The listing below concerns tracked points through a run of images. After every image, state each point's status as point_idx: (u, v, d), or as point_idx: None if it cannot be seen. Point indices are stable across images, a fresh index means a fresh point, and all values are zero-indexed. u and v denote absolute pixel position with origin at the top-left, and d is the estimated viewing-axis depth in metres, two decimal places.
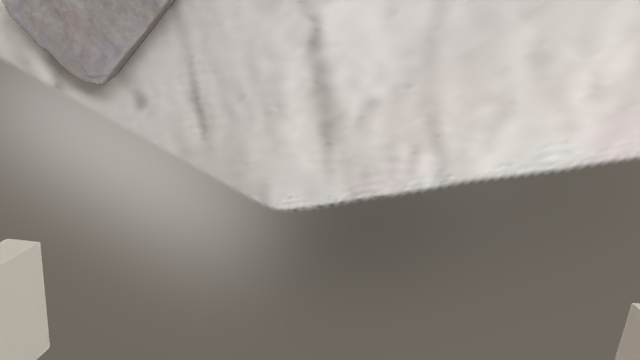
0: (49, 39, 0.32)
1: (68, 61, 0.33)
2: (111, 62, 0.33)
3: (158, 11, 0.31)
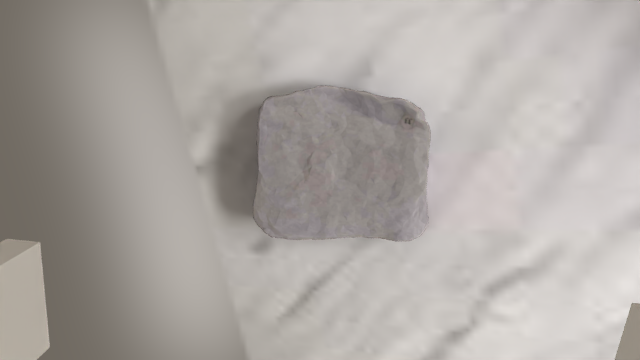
0: (274, 173, 0.27)
1: (269, 203, 0.28)
2: (305, 235, 0.28)
3: (389, 239, 0.29)
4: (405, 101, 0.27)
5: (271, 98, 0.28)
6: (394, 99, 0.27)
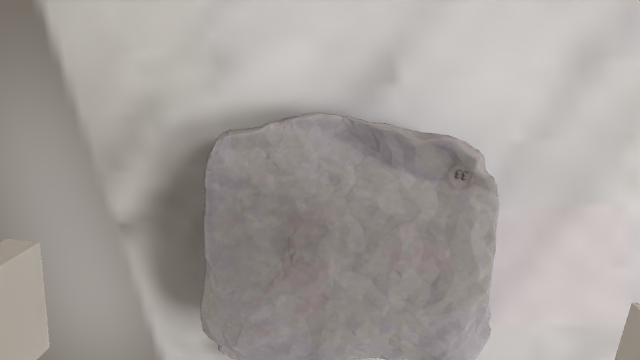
0: (232, 264, 0.16)
1: (225, 313, 0.16)
2: None
3: None
4: (456, 141, 0.15)
5: (227, 135, 0.16)
6: (437, 138, 0.16)
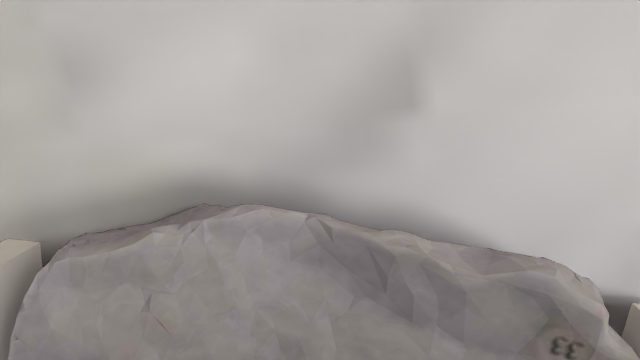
0: None
1: None
2: None
3: None
4: (558, 279, 0.07)
5: (62, 258, 0.08)
6: (514, 270, 0.07)
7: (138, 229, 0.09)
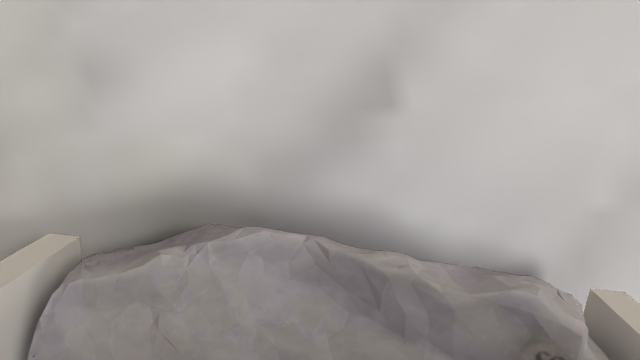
0: None
1: None
2: None
3: None
4: (540, 298, 0.07)
5: (75, 279, 0.08)
6: (499, 289, 0.08)
7: (145, 249, 0.09)
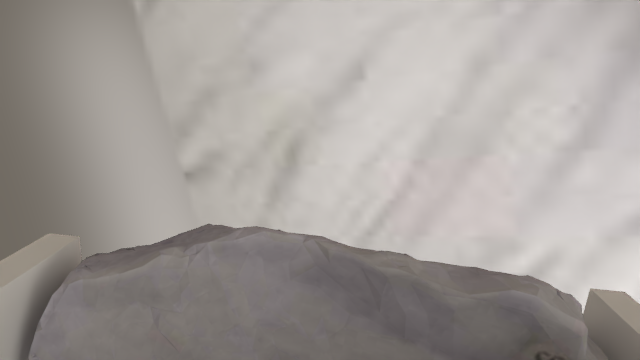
0: None
1: None
2: None
3: None
4: (539, 298, 0.07)
5: (76, 279, 0.08)
6: (498, 289, 0.08)
7: (146, 249, 0.09)
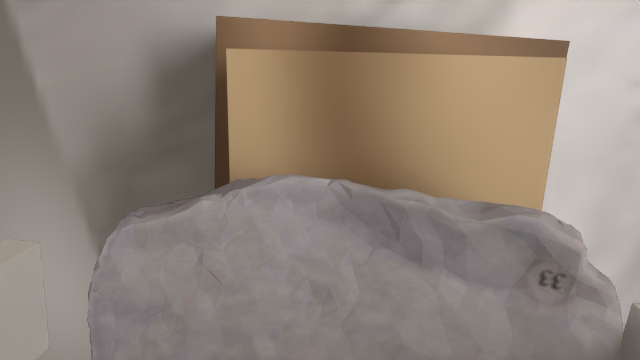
0: None
1: None
2: None
3: None
4: (542, 221, 0.08)
5: (127, 224, 0.09)
6: (505, 215, 0.09)
7: (185, 202, 0.10)
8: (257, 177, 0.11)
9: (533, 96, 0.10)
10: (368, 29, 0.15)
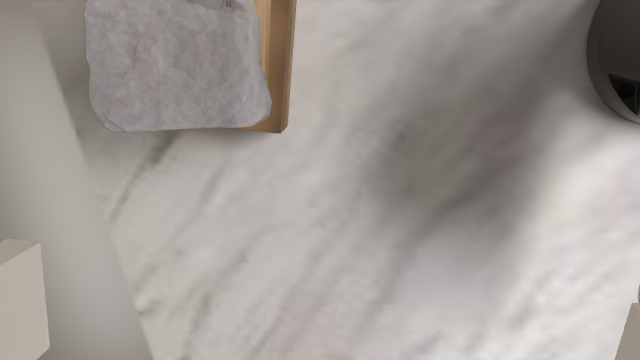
0: (102, 63, 0.28)
1: (100, 93, 0.28)
2: (141, 126, 0.29)
3: (226, 127, 0.29)
4: None
5: None
6: None
7: None
8: None
9: None
10: None
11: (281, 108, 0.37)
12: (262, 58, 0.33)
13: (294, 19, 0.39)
